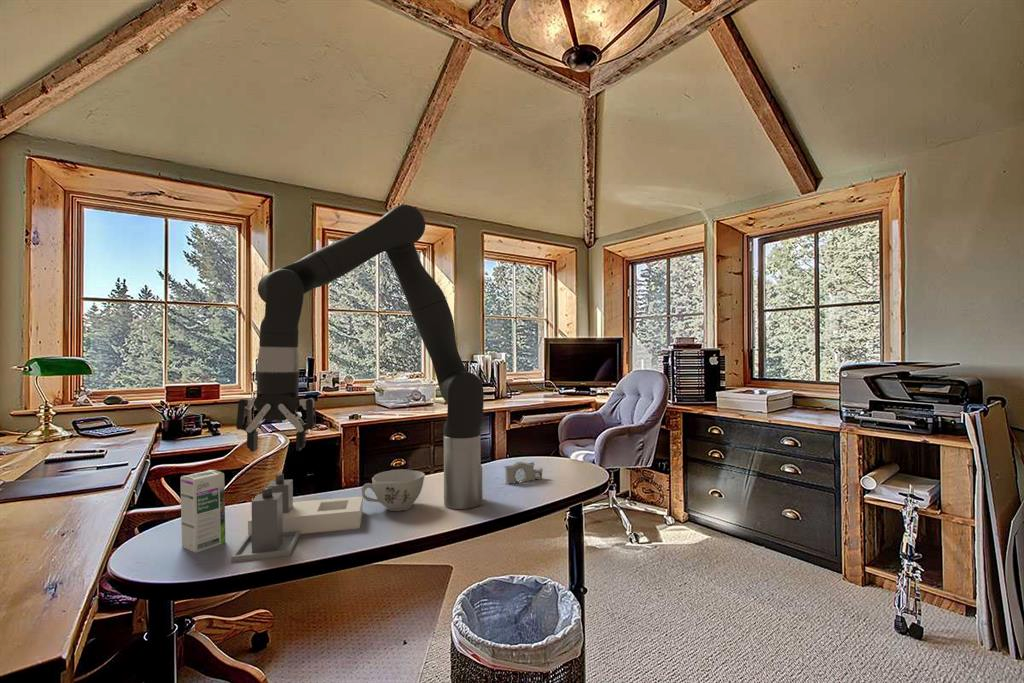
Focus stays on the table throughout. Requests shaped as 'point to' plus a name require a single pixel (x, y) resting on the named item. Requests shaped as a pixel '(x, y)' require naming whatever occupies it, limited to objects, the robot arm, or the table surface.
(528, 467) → the garden wall model
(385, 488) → the teacup
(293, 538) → the tray
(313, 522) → the power strip
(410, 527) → the table surface
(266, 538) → the plug
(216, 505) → the syrup box
